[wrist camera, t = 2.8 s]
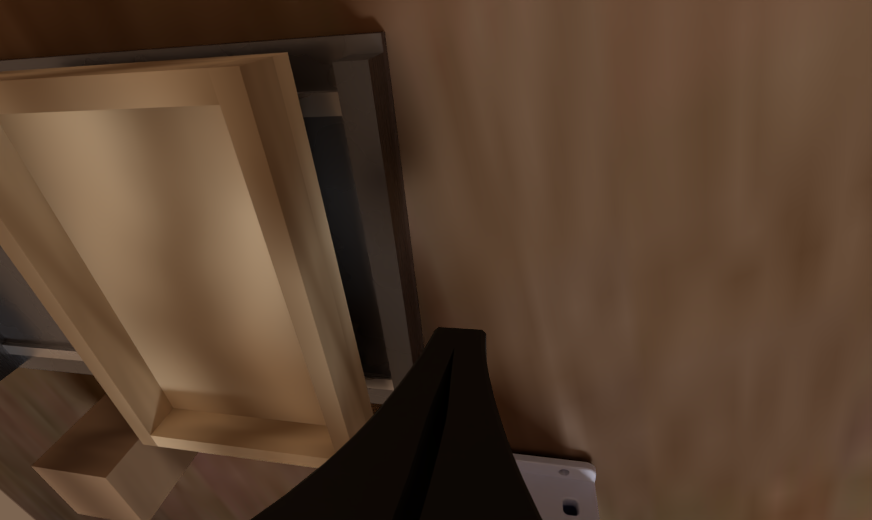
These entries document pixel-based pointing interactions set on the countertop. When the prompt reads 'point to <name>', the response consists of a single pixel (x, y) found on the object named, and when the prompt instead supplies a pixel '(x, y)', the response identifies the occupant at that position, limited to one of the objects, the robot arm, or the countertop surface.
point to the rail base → (340, 189)
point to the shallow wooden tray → (185, 250)
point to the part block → (111, 467)
